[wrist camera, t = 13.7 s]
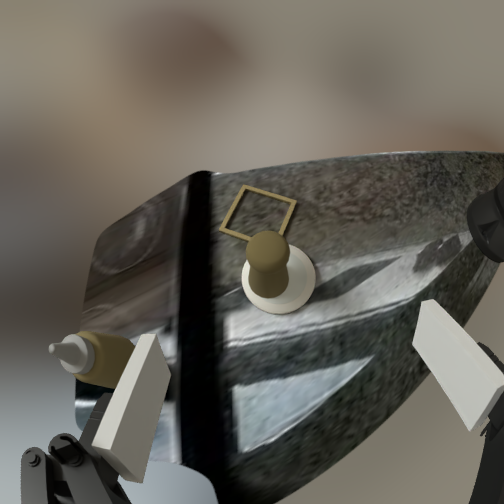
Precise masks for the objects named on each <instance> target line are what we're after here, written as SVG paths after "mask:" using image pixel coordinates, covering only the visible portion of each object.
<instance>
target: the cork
mask: <svg viewBox="0 0 504 504" xmlns="http://www.w3.org/2000/svg"><path fill="white" fill-rule="evenodd" d="M289 257H290V247H289V244H288V242H287V241H286V239H285V238H284V237H283V236H282V235H281V234H279V233H277V232H273V231H262V232H260V233H257V234H256V235H254V236H253V237H252V238H251V239H250V241H249V242H248V244H247V248H246V258H247V261H248V263H249V265H250V270H249V276H248V282H249V286H250V288H251V290H252V291H253V292H254V293H255V294H256V295H258V296H260V297H262V298H267V299H268V298H275V297H277V296H279V295H281V294H282V293H283V292H284V291H285V290H286V288H287V286H288V283H289V275H288V270H287V263H288V261H289Z"/></svg>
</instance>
